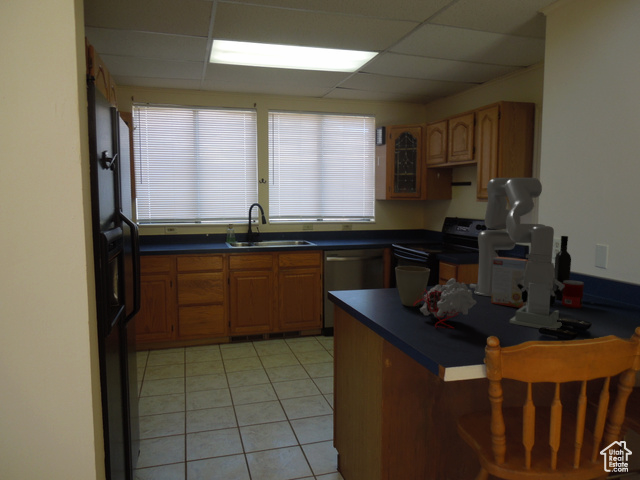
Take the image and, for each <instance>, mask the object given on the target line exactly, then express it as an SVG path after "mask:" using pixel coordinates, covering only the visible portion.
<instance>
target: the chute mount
mask: <svg viewBox="0 0 640 480" xmlns="http://www.w3.org/2000/svg"><path fill="white" fill-rule="evenodd" d="M559 315H560V310H557V309H556V310H554V311H552V313H551V314H549V316H547V315H540V314H534V313H528V312H526V306H523V307H522V308H518V309H517V310H516V311H515V315H514V316H513V317H511V318H510V319H509V324H513V325H518V326H523V327H530V328H535V329H540V328H541V327H549V328H559V329H560V328H561V327H562V326H563V325H562V323H561V322H557V320H558V319H560V318H559Z"/></svg>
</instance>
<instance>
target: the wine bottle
mask: <svg viewBox="0 0 640 480" xmlns="http://www.w3.org/2000/svg"><path fill="white" fill-rule="evenodd" d="M568 242H569V236H568V235H560V249H559V250H560V251H558V252H557V253H556V254H555V256H554V272H555V279H556V280H557V281H559V282H561V283H562V284H563V281H565V280H571V268H572V256H571V254H570V253H569V252H568ZM558 288H559V286H558V285H556V284H555V285H554V288H553V289H554V290H555V291H556V290H557V289H558ZM562 292H563V289H562V290H561V292H559V293H558V294H557V295H555V301H556V300H558V301H562Z"/></svg>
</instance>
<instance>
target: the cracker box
mask: <svg viewBox="0 0 640 480" xmlns="http://www.w3.org/2000/svg"><path fill="white" fill-rule="evenodd" d="M527 261H530V260H529V259H527V258H526V259H524V258H517V257H506V256H505V257H504V256H499V257H495V258H494V259H493V277H492V296H490V297H491V298H490V299H491V300H490V302H491V304H495V305H501V306H507V307H513V308H517V309H520V308H522V307H523V306H526V302H527V301H526V302H523V300H522V292H521V290H520V289H519V287H518V286H517V284H516V282H515V279H518V278H520V277H523V276H524V274H525V268H526V264H527ZM523 282H524V280H521V281H520V283H521V284H522V285H523V287H524V284H523ZM526 291H527V290H526Z"/></svg>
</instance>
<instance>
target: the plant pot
mask: <svg viewBox="0 0 640 480" xmlns="http://www.w3.org/2000/svg"><path fill="white" fill-rule="evenodd" d="M394 271H395V279H396V285H397V289H398V293H399V298H400V301H401V304H402V305H404V306H407V307H419V306H420V305H421V302H422V301H419V302H417V301H418V300H420V299H422V298H424V295H425V292H426V291H425V290H424V289H426V290H427V285H428V282H429V278H430V275H431V273H430V272H431V269H430V268H428V267H427V268H426V267H422V266H415V265H414V266H413V265H401V266H400V265H399V266H396V267H395V269H394ZM424 291H425V292H424ZM422 292H424V293H422ZM421 293H422V294H421ZM418 296H419V297H418ZM417 298H418V299H417ZM416 300H417V301H416ZM415 301H416V302H417V303H416V302H415ZM414 302H415V303H416V304H415V306H413V304H414Z"/></svg>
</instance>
